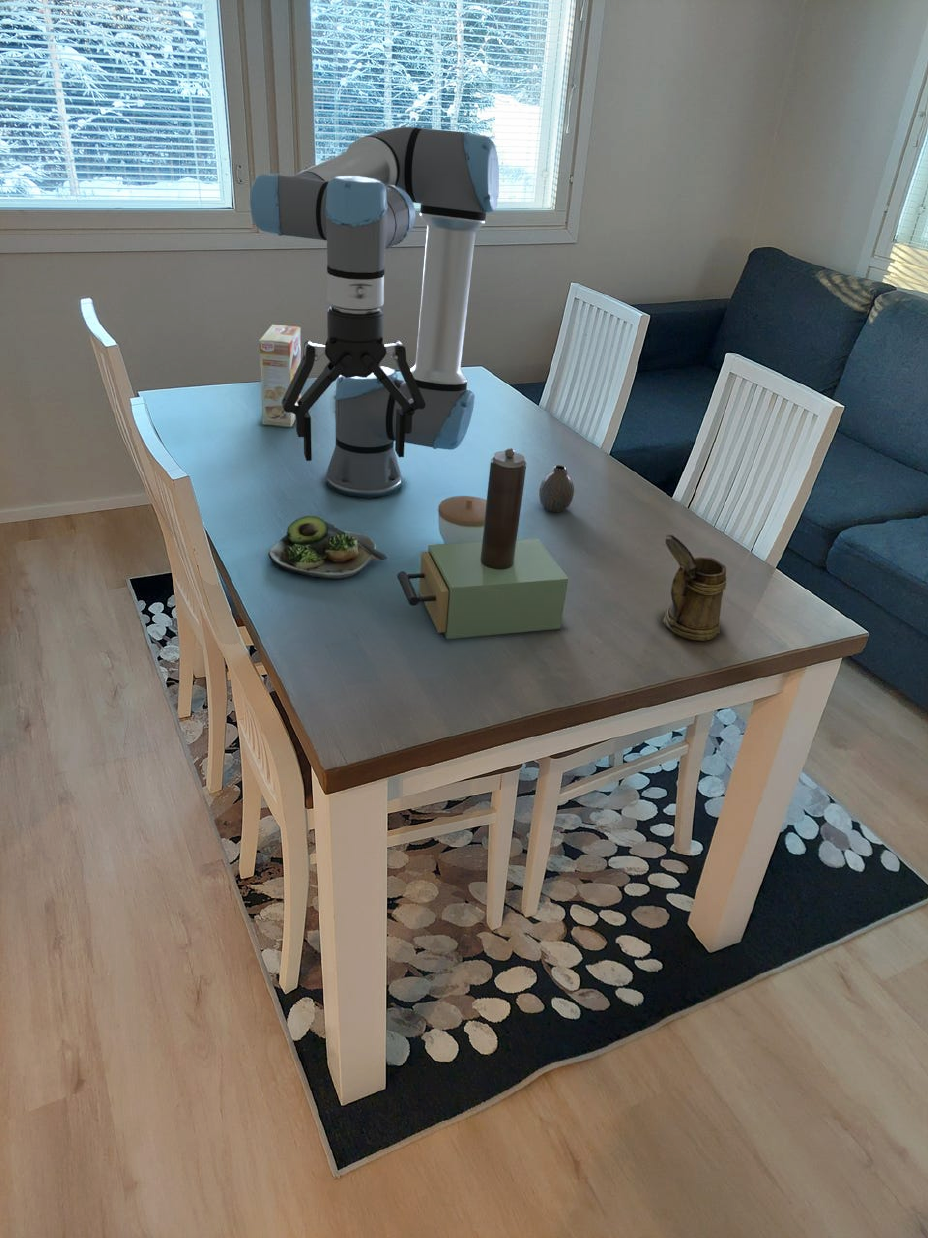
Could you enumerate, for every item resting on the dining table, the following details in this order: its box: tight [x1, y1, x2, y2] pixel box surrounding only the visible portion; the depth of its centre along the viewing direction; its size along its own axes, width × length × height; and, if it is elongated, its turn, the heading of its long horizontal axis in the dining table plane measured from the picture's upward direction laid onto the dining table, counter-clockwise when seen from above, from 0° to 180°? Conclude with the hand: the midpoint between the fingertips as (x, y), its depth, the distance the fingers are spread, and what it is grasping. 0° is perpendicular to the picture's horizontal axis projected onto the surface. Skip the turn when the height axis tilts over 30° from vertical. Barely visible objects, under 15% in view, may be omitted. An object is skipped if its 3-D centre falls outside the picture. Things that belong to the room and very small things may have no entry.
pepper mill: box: [481, 447, 527, 569], centre depth 130 cm, size 5×5×19 cm
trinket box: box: [437, 495, 487, 544], centre depth 155 cm, size 11×11×9 cm
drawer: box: [396, 551, 450, 634], centre depth 136 cm, size 22×12×7 cm, turn 106°
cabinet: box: [427, 537, 569, 640], centre depth 137 cm, size 19×14×9 cm
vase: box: [538, 464, 575, 513], centre depth 173 cm, size 7×7×9 cm
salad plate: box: [267, 515, 388, 580], centre depth 149 cm, size 19×18×5 cm
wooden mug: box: [663, 534, 728, 642], centre depth 135 cm, size 9×14×18 cm, turn 118°
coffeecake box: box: [258, 324, 302, 428], centre depth 202 cm, size 15×7×20 cm, turn 179°
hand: (354, 455), depth 127 cm, fingers open, 13 cm apart
